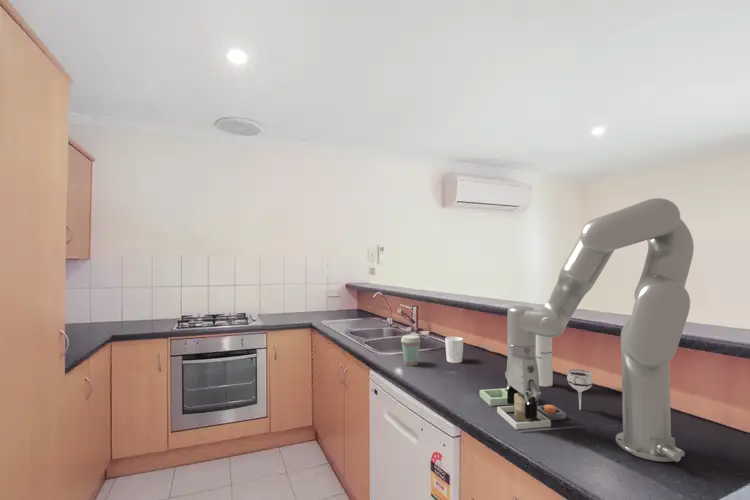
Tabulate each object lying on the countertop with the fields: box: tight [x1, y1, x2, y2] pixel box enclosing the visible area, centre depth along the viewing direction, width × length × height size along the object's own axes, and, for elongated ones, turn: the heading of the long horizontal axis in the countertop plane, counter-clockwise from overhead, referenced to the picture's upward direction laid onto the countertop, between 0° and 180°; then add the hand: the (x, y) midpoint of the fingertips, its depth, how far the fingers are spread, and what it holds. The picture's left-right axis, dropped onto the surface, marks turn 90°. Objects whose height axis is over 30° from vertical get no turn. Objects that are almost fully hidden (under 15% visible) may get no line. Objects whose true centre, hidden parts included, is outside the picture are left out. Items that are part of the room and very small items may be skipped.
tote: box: [496, 405, 552, 432], centre depth 106 cm, size 11×10×2 cm
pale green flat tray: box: [479, 387, 532, 407], centre depth 120 cm, size 8×15×3 cm, turn 98°
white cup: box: [444, 336, 464, 364], centre depth 167 cm, size 8×8×10 cm
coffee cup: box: [400, 334, 421, 367], centre depth 163 cm, size 8×8×12 cm
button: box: [543, 404, 557, 413], centre depth 108 cm, size 3×3×3 cm
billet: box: [513, 393, 532, 422], centre depth 106 cm, size 4×4×7 cm
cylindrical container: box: [535, 335, 554, 388], centre depth 135 cm, size 7×7×25 cm
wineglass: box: [566, 368, 594, 411], centre depth 112 cm, size 7×7×12 cm
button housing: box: [537, 404, 567, 421], centre depth 108 cm, size 6×6×2 cm
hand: (521, 410), depth 106 cm, fingers open, 9 cm apart
